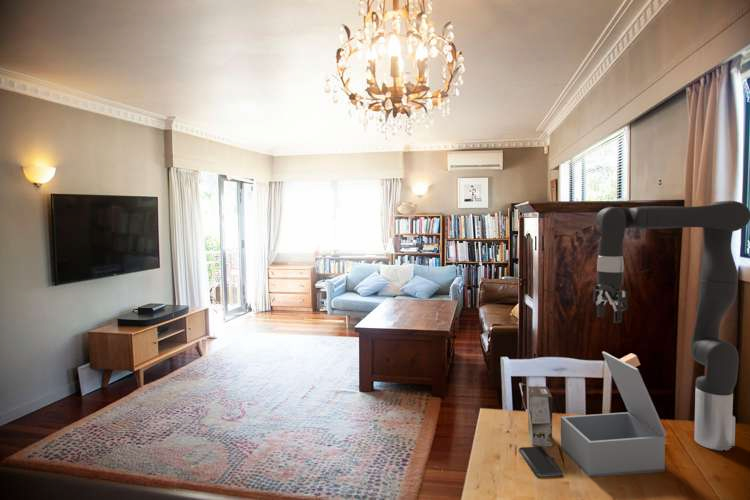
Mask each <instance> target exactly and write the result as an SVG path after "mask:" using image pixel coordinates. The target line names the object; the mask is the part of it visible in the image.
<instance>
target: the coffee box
mask: <svg viewBox="0 0 750 500" xmlns="http://www.w3.org/2000/svg"><path fill="white" fill-rule="evenodd" d="M527 419H528V421H527V424H528V427H527V430H528V432H527V433H528V436H529V439H530V442H531V445H532V446H540V447H553V396H552V394H551V392H550V389H549V388H548V386H543V385H539V386H537V385H536V386H530V385H529V386H527Z"/></svg>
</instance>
